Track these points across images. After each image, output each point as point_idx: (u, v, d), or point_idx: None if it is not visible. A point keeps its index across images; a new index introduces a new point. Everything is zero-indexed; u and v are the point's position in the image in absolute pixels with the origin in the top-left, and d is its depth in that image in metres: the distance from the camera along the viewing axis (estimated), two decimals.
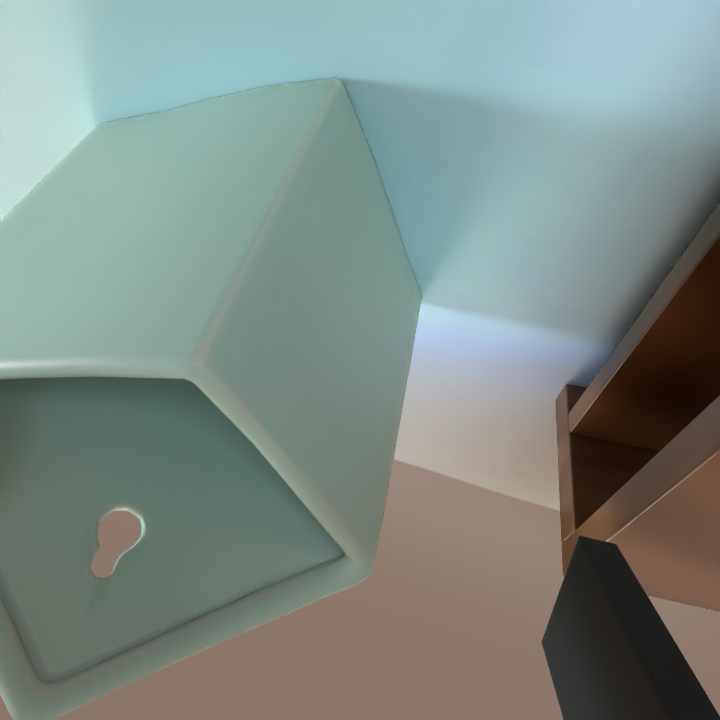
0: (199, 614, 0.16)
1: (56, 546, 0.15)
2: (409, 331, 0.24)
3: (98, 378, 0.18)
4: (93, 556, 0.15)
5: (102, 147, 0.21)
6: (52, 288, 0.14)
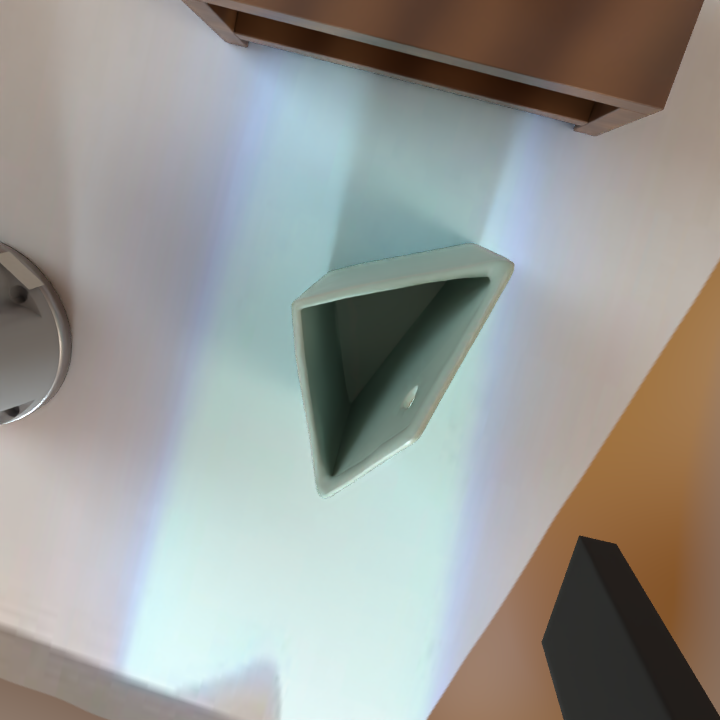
0: (450, 358, 0.25)
1: (392, 423, 0.26)
2: (465, 247, 0.36)
3: (379, 407, 0.32)
4: (406, 409, 0.26)
5: None
6: None
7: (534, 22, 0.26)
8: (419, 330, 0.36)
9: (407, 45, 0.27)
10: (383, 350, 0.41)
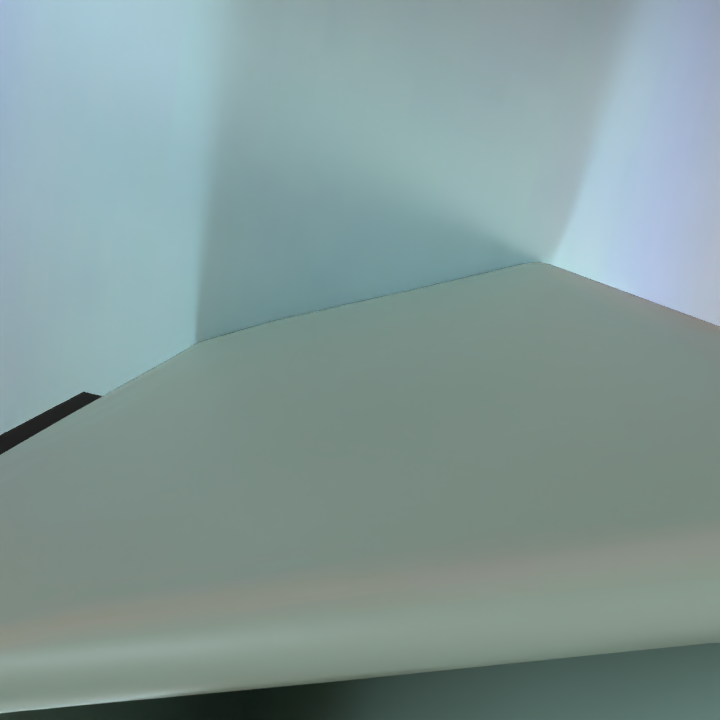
0: None
1: None
2: (529, 279, 0.12)
3: None
4: None
5: None
6: None
7: None
8: None
9: None
10: None
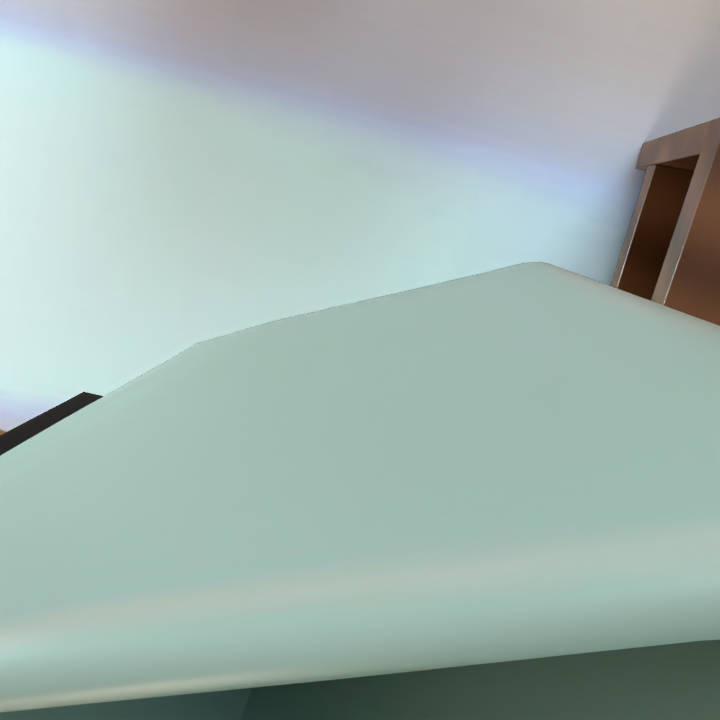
0: None
1: None
2: (528, 278, 0.13)
3: None
4: None
5: None
6: None
7: None
8: None
9: None
10: None
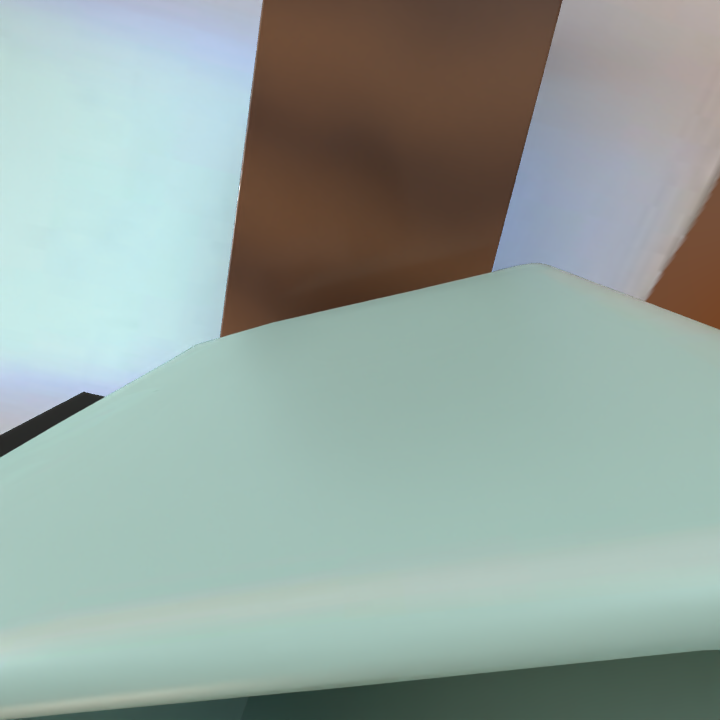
0: None
1: None
2: (528, 279, 0.12)
3: None
4: None
5: None
6: None
7: None
8: None
9: (228, 271, 0.21)
10: None
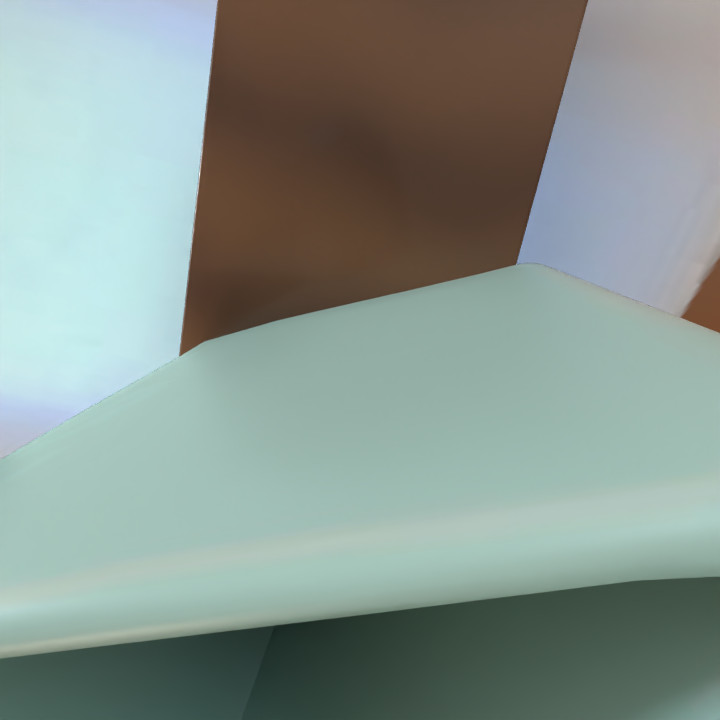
0: None
1: None
2: (523, 278, 0.13)
3: None
4: None
5: None
6: None
7: None
8: None
9: (187, 288, 0.18)
10: None
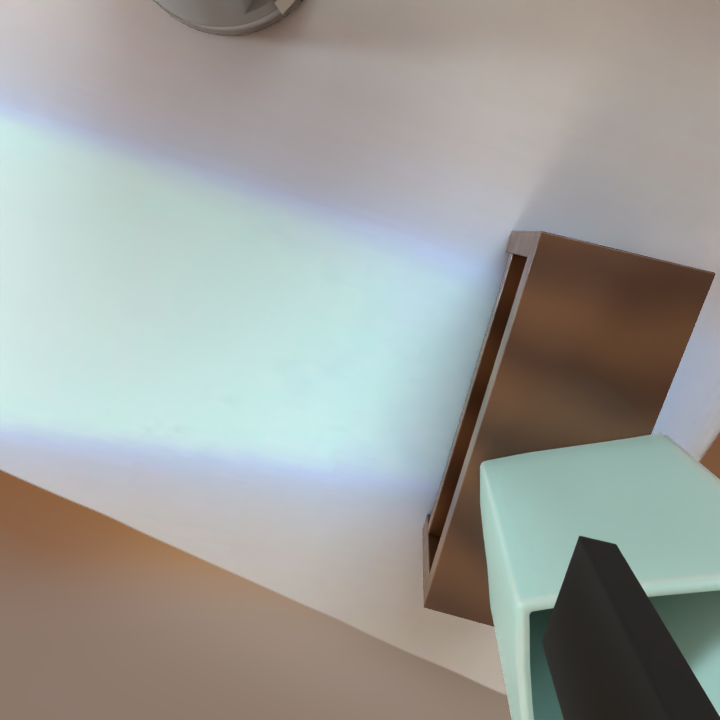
0: None
1: None
2: (668, 455, 0.30)
3: None
4: None
5: (493, 612, 0.34)
6: (511, 669, 0.25)
7: None
8: None
9: (477, 433, 0.34)
10: None
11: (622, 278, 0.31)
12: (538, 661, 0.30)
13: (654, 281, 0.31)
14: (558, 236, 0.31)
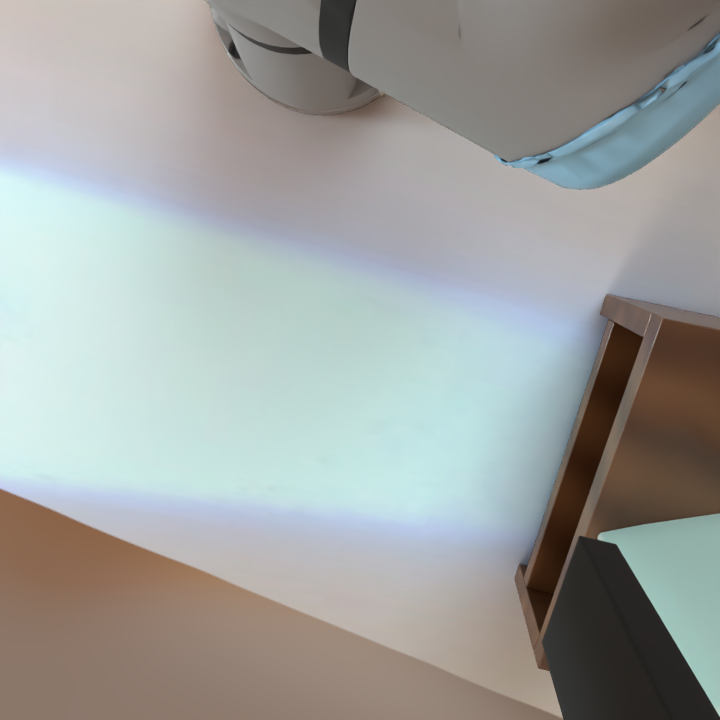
0: None
1: None
2: None
3: None
4: None
5: None
6: None
7: None
8: None
9: (594, 506, 0.35)
10: None
11: None
12: None
13: None
14: (679, 322, 0.32)
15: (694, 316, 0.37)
